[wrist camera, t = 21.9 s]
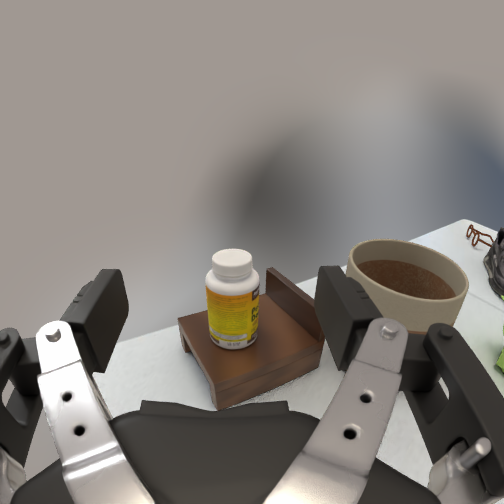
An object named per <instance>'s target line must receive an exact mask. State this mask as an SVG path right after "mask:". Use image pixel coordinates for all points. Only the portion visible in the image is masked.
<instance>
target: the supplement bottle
mask: <svg viewBox="0 0 504 504" xmlns="http://www.w3.org/2000/svg"><path fill="white" fill-rule="evenodd" d="M252 266H253V265H252V256H251V254H250V253H248V252H247V251H244V250H241V249H225V250H221V251H219V252H217V253H215V254H214V255H213V257H212V269H211V270H210V271H209V272H208V274H207V275H206V278H205V282H206V296H207V307H208V320H209V331H210V336H211V339H212V340H213V342H214V343H215V344H217V345H218V346H220V347H222V348H226V349H241V348H245V347H247V346H249V345H250V344H252V343H253V342H254V340H255V339H256V337H257V333H258V309H259V285H260V282H259V275H258V273H257V272H256V271H255V270H254V269H253V267H252Z"/></svg>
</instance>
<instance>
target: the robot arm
mask: <svg viewBox="0 0 504 504" xmlns="http://www.w3.org/2000/svg"><path fill="white" fill-rule="evenodd" d="M314 308H315V313H316V316H317V318H318V321H319V323H320V326H321V328H322V330H323V333H324V335H325V338H326V340H327V343H328V346H329V348H330V351H331V353H332V356H333V358H334V361H335V363H336V366H337V368H338V371H340V370H347V369H348V370H347V372H346V374H345V376H344V378H343V380H342V382H341V384H340V386H339V388H338V390H337V392H336V393H335V395H334V397H333V399H332V401H331V403H330V405H329V406H328V408H327V410H326V412H325V413H324V415H323V417H322V419H321V420H320V419H318V418H315V417H313V416H311V415H307V414H304V413H300V412H296V411H289V408H288V402H287V401H277V402H262V403H249V404H245V405H241V406H237V407H233V408H228V409H224V410H219V411H207V410H203V409H199V408H194V407H190V406H186V405H183V404H179V403H172V402H157V401H146V400H142V403H141V407H140V410H137V411H132V412H128V413H125V414H122V415H120V416H117V417H115V418H113V417H112V415H111V413H110V411H109V409H108V407H107V405H106V403H105V401H104V399H103V397H102V395H101V393H100V391H99V389H98V386H97V384H96V382H95V380H94V378H93V376H92V374H93V372H99V373H105V371H106V368H107V365H108V363H109V360H110V358H111V355H112V353H113V350H114V348H115V345H116V343H117V340H118V338H119V335H120V333H121V330H122V328H123V326H124V323H125V321H126V319H127V316H128V311H129V304H128V299H127V295H126V290H125V286H124V281H123V277H122V273H121V271H120V270H119V269H102V270H101V271H100V272H99V274H98V275H97V277H96V278H95V280H94V281H90V282H89V283H88V284H87V285H85V286H84V287H82V289H81V290H80V292H79V293H78V294H77V296H76V297H75V299H74V300H73V303H71V304H70V306H69V307H68V308H67V310H66V312H65V313H64V314H63V316H62V317H61V319H60V320H59V321H54V322H50V323H48V324H46V325H44V326H43V327H42V328H41V329H40V330H39V331H38V333H37V335H36V337H34V338H26V339H21V337H20V335H19V333H18V331H17V330H16V329H14V328H6V329H3V330H1V331H0V504H494V503H496V502H497V501H499V500H501V499H502V498H504V398H503V396H502V395H501V393H500V391H499V390H498V388H497V387H496V385H495V383H494V382H493V380H492V379H491V377H490V376H489V374H488V373H487V371H486V370H485V368H484V367H483V365H482V364H481V362H480V361H479V360H478V358H477V357H476V355H475V354H474V352H473V351H472V350H471V348H470V347H469V346H468V344H467V343H466V341H465V340H464V339H463V337H462V336H461V335H460V333H459V332H458V331H457V330H456V329H455V328H453V327H452V326H450V325H448V324H445V323H434V324H432V325H430V327H429V329H428V331H427V333H426V335H424V334H413V333H408V331H407V329H406V327H405V326H404V325H403V324H401V323H400V322H398V321H396V320H394V319H390V318H384V317H383V316H382V314H381V313H380V311H379V310H378V308H377V307H376V305H375V304H374V302H373V301H372V299H370V297H369V295H368V294H367V292H365V289H364V288H363V287H362V285H361V284H360V283H359V282H357V281H356V280H355V279H353V278H352V277H346V275H345V274H344V272H343V271H342V269H341V268H340V267H339V266H321V267H320V268H319V272H318V279H317V285H316V292H315V298H314ZM441 377H442V379H443V381H444V382H445V384H446V386H447V388H448V390H449V400H448V398H447V397H446V395H445V393H444V391H443V389H442V387H441V385H440V384H439V382H438V381H439V379H440V378H441ZM8 379H9V380H10V381H11V382H12V384H13V385H14V387H15V388H14V390H13V392H12V394H11V397H10V399H9V401H8V403H7V406H6V407H5V406H4V404H3V402H2V392H3V390H4V388H5V386H6V383H7V381H8ZM398 391H403V392H404V394H405V397H406V399H407V401H408V404H409V406H410V408H411V410H412V413H413V415H414V418H415V420H416V422H417V425H418V427H419V430H420V432H421V435H422V437H423V440H424V442H425V445H426V447H427V450H428V453H429V455H430V458H431V461H432V463H433V466H432V468H431V470H430V474H429V483H428V486H427V487H428V488H426V487H424V486H422V485H421V484H419V483H417V482H415V481H414V480H412V479H410V478H408V477H407V476H405V475H403V474H402V473H400V472H398V471H397V470H395V469H393V468H392V467H390V466H389V465H387V464H385V463H384V462H382V461H381V460H379V459H378V458H376V454H377V452H378V449H379V447H380V444H381V442H382V439H383V436H384V434H385V431H386V428H387V425H388V422H389V419H390V416H391V413H392V410H393V407H394V403H395V400H396V397H397V393H398ZM43 406H44V410H45V414H46V417H47V421H48V424H49V427H50V430H51V434H52V437H53V440H54V443H55V446H56V449H57V452H58V454H59V457H60V458H59V459H58V460H57V461H55V462H54V463H52V464H51V465H50V466H48V467H47V468H45V469H44V470H43V471H41V472H40V473H38V474H37V475H36V476H34V477H33V478H31V479H30V480H29V481H27V480H26V474H25V471H24V466H25V462H26V458H27V455H28V451H29V448H30V444H31V441H32V438H33V434H34V431H35V429H36V426H37V423H38V420H39V417H40V414H41V411H42V408H43Z"/></svg>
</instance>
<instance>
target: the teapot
mask: <svg viewBox="0 0 504 504" xmlns="http://www.w3.org/2000/svg"><path fill="white" fill-rule="evenodd" d="M501 297H502V299H503V300H504V296H501ZM503 334H504V326H503ZM496 364H497V365H498V366H499V367H501V368H502V372H503V373H504V348H503V350H502V352H501V354H500V357H499V359H498V361H497V363H496Z"/></svg>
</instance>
